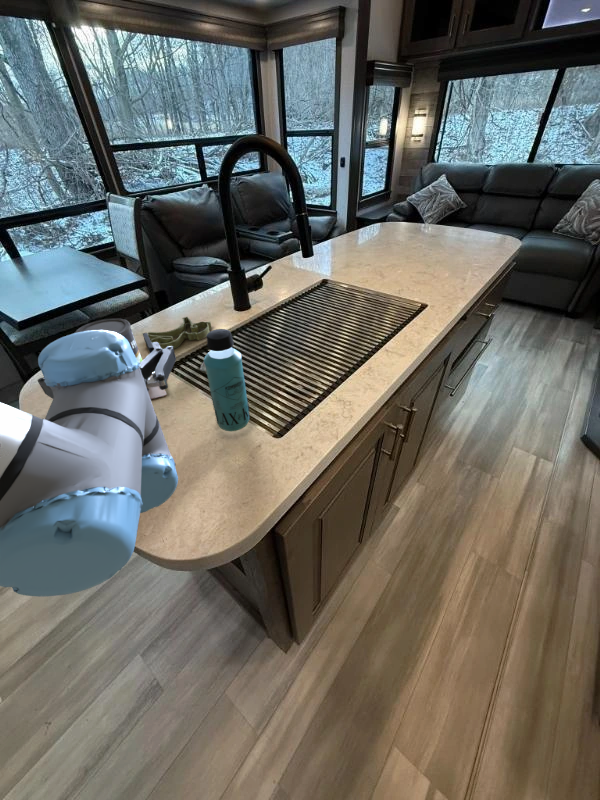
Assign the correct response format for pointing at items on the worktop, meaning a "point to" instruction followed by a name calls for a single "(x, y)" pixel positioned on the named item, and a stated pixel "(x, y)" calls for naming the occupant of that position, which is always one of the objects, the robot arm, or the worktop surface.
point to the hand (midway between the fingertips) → (107, 348)
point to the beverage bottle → (226, 381)
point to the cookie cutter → (167, 337)
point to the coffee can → (115, 326)
